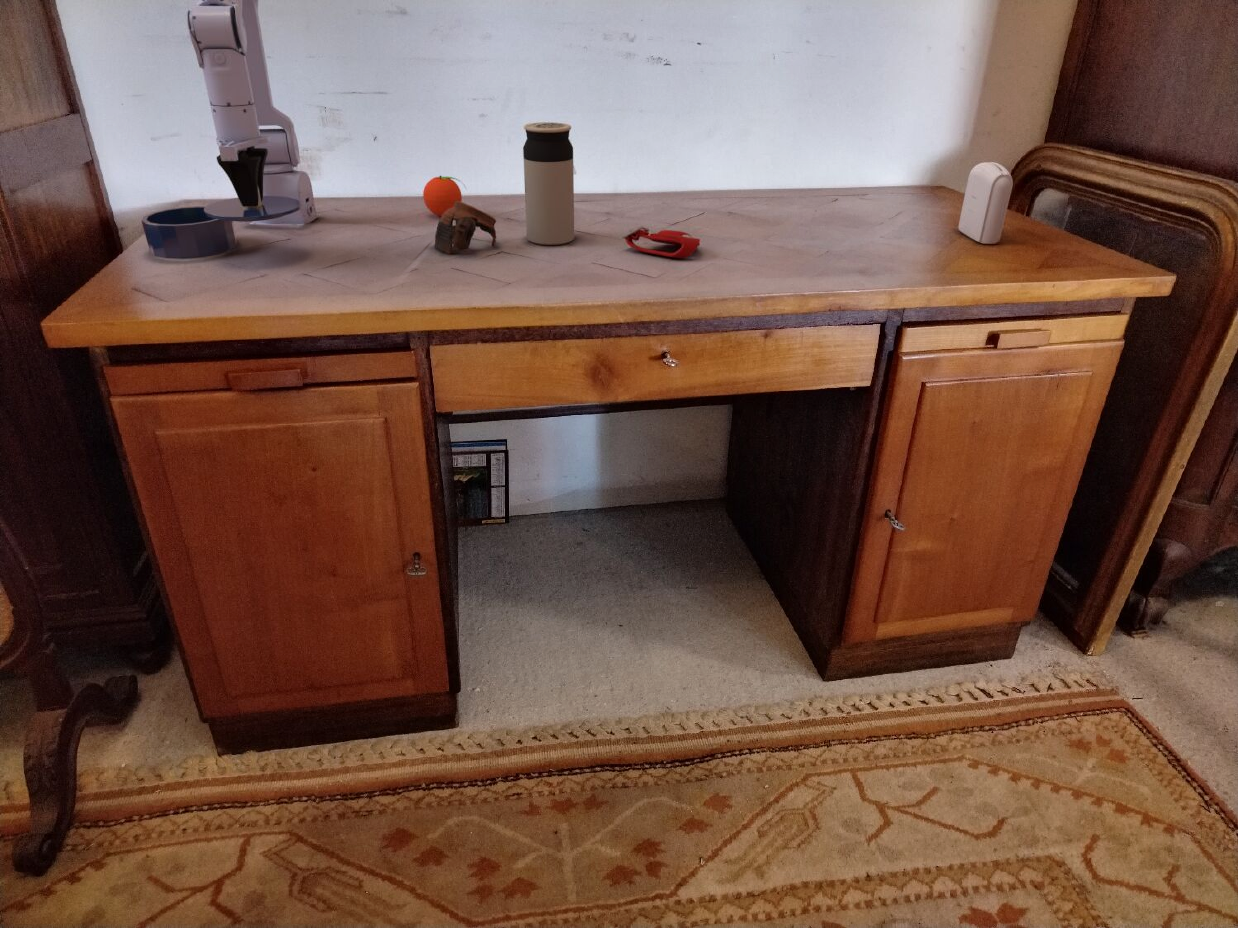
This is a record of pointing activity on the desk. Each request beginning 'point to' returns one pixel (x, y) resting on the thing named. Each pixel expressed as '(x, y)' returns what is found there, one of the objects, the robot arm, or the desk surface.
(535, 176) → the travel mug
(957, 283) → the desk surface
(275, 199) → the crock lid
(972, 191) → the photo printer
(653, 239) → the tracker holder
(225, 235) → the crock
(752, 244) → the desk surface
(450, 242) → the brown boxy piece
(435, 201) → the clementine
